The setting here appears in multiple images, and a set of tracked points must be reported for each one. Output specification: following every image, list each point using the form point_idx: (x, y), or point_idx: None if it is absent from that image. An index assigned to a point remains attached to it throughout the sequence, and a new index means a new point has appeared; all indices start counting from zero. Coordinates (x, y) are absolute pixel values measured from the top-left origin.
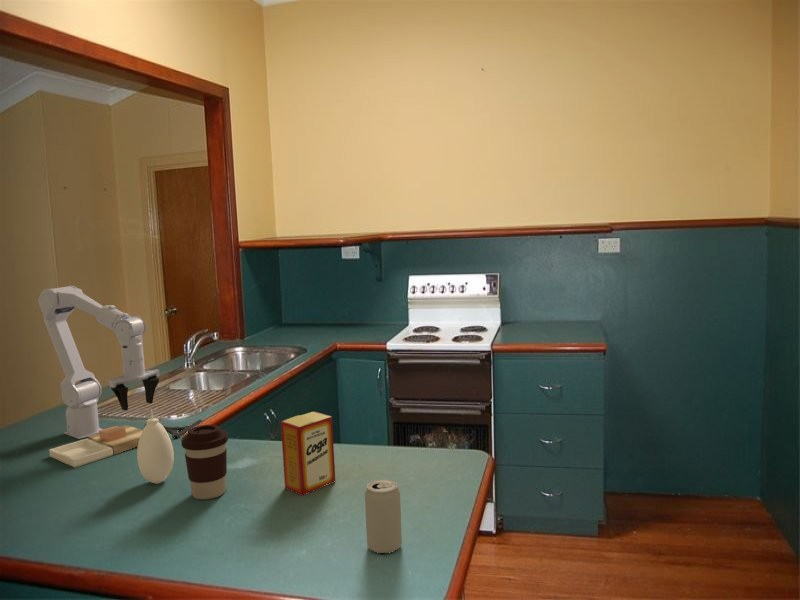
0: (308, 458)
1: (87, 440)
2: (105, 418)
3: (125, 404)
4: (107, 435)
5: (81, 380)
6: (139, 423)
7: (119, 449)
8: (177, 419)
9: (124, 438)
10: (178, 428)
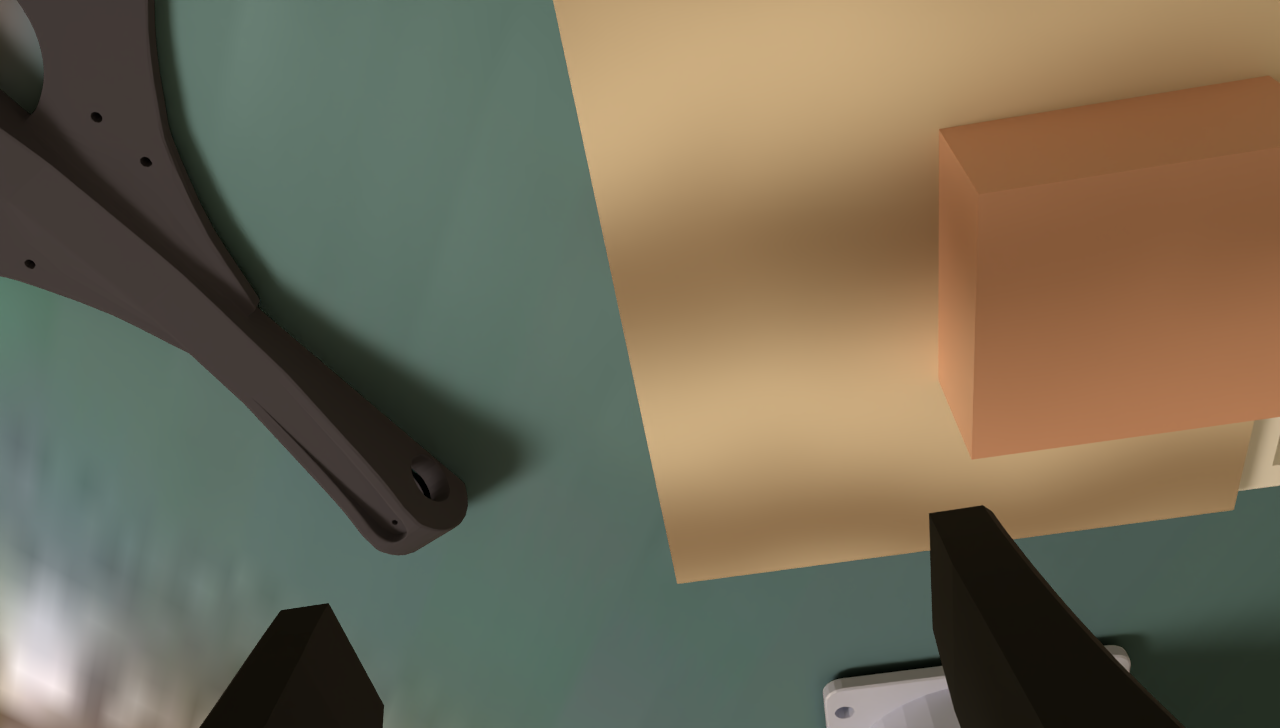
0: None
1: (1275, 434)
2: None
3: (1056, 607)
4: None
5: None
6: (444, 697)
7: None
8: (7, 567)
9: (1020, 33)
10: (19, 137)
